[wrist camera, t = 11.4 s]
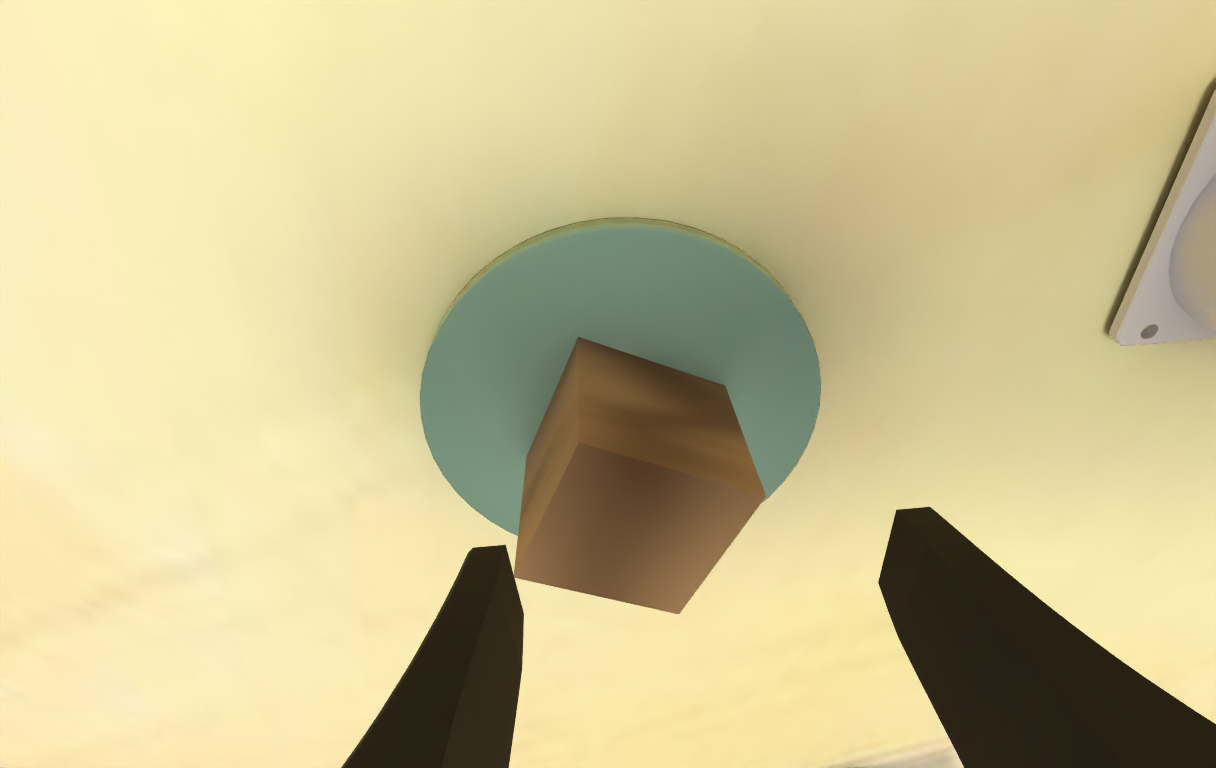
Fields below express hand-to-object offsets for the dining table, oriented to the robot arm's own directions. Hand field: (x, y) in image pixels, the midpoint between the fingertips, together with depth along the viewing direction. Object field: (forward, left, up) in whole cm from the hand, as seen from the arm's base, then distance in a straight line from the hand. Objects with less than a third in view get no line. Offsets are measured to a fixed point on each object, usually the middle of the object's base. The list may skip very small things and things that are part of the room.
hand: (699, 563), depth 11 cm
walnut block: (+1, +3, -8) cm, 9 cm away
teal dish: (+1, +3, -9) cm, 10 cm away
